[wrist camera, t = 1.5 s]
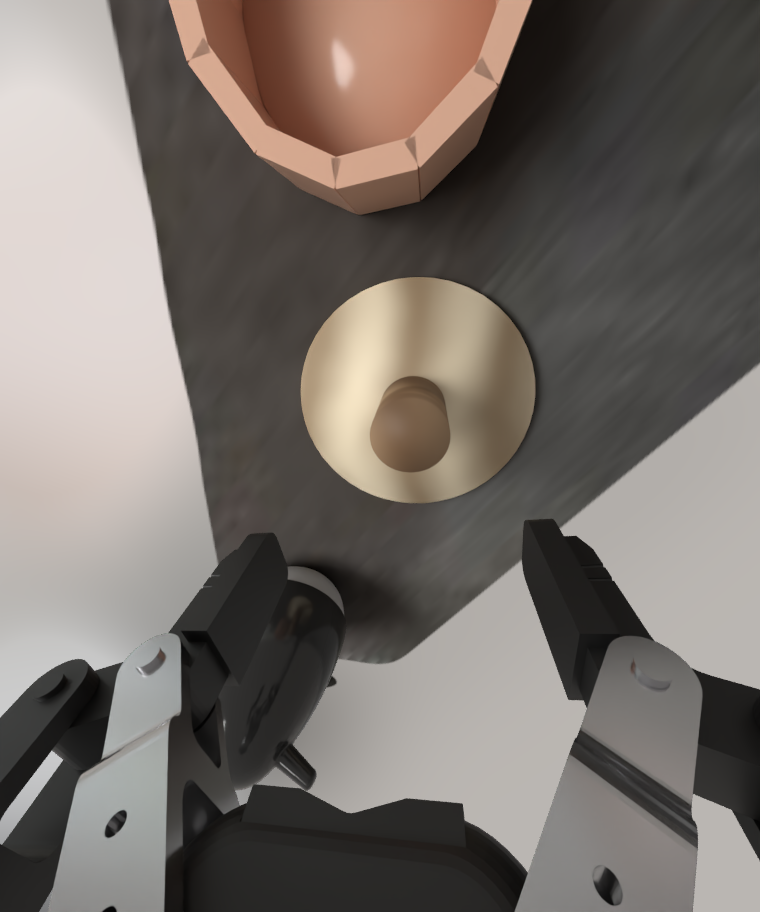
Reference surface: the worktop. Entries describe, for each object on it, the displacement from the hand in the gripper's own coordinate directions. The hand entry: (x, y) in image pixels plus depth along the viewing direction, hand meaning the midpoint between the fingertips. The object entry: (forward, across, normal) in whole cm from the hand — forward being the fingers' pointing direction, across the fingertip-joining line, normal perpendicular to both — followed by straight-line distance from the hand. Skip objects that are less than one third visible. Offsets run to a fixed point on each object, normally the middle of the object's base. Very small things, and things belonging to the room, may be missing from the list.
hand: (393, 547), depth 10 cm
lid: (+15, 0, 0) cm, 15 cm away
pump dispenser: (+15, +13, +18) cm, 26 cm away
